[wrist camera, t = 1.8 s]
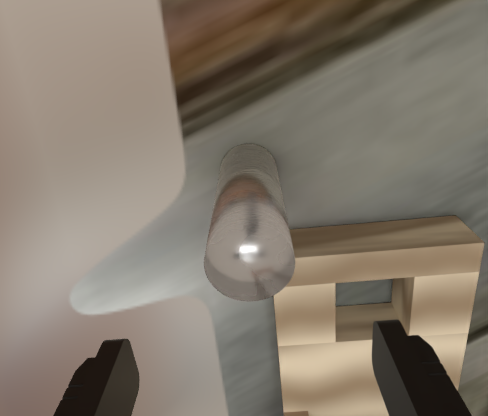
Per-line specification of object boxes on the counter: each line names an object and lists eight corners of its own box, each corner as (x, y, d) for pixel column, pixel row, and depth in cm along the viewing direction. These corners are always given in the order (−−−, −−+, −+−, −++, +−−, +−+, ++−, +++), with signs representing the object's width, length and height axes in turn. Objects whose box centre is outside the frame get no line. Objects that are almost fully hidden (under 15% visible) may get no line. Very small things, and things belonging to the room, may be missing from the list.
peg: (217, 146, 28) (197, 228, 17) (274, 140, 27) (292, 220, 17) (224, 199, 29) (210, 304, 18) (278, 194, 29) (297, 297, 18)
